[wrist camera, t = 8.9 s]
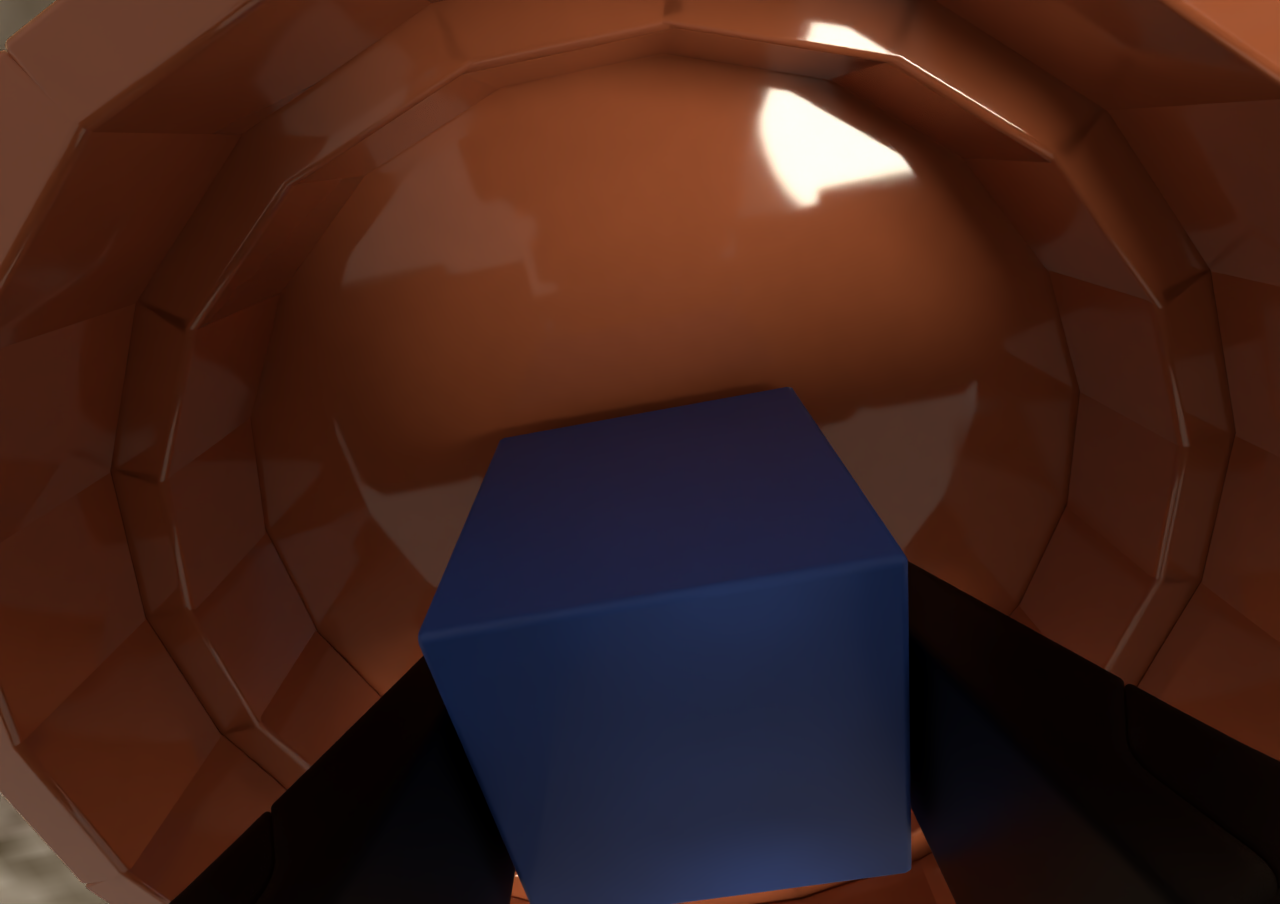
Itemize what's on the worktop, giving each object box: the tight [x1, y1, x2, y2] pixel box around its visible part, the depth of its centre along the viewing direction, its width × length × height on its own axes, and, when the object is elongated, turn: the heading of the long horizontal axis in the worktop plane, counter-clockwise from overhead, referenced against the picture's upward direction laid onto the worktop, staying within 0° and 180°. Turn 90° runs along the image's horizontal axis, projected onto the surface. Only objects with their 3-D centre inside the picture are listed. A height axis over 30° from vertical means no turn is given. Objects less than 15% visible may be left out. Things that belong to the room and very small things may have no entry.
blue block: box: [418, 387, 912, 904], centre depth 8 cm, size 4×4×4 cm
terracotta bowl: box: [0, 0, 1280, 904], centre depth 8 cm, size 14×14×4 cm
